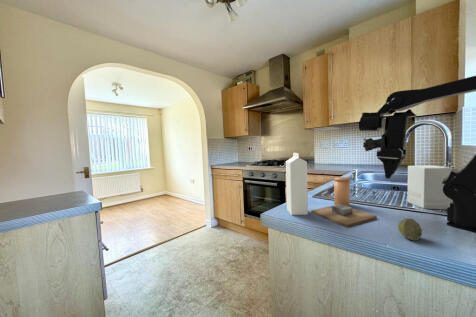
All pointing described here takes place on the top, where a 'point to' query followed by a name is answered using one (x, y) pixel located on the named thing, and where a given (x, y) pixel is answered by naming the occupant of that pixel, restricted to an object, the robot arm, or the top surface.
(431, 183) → the supplement box
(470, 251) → the top surface
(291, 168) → the milk
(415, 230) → the lime
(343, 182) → the container with domed lid
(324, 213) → the thin square board
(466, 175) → the robot arm
